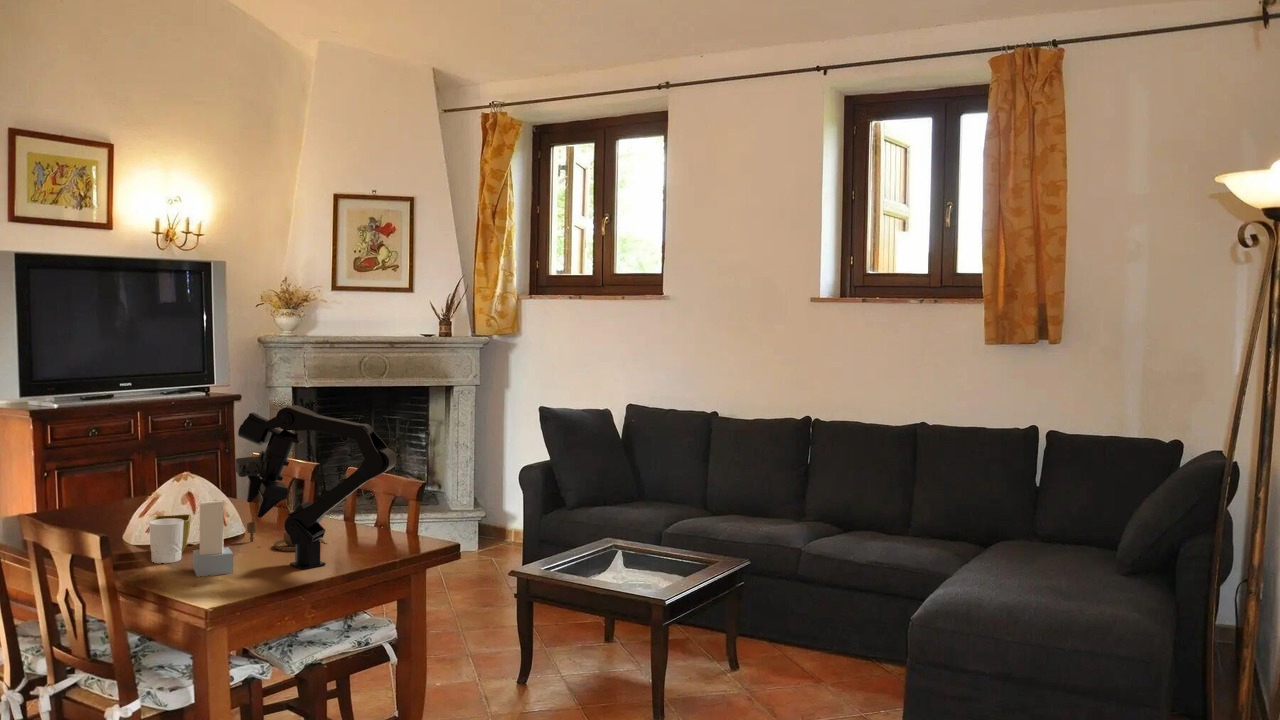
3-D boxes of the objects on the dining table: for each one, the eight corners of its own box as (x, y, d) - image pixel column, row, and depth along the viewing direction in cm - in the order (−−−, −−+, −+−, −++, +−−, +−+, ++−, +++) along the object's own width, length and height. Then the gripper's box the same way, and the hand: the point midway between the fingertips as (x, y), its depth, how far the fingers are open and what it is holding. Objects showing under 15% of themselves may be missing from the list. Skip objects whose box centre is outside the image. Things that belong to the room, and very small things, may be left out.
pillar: (223, 549, 244) (223, 500, 244) (222, 553, 239) (222, 504, 239) (201, 550, 243) (201, 501, 242) (199, 554, 238) (199, 505, 237)
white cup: (142, 563, 247) (142, 524, 246) (159, 556, 254) (159, 517, 254) (173, 564, 246) (173, 525, 246) (189, 557, 254) (189, 518, 254)
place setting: (275, 558, 258) (275, 535, 258) (242, 544, 272) (242, 523, 272) (337, 547, 270) (337, 526, 270) (302, 535, 284) (302, 515, 284)
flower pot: (151, 557, 254) (151, 522, 253) (154, 549, 262) (154, 515, 261) (189, 554, 257) (189, 520, 256) (190, 547, 265) (191, 513, 265)
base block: (228, 566, 247) (228, 547, 246) (233, 574, 240) (233, 553, 240) (193, 570, 243) (193, 550, 242) (197, 578, 236) (197, 557, 236)
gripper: (235, 432, 250) (213, 489, 251) (256, 460, 236) (232, 519, 236) (277, 442, 257) (255, 497, 258) (300, 469, 243) (276, 527, 244)
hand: (253, 509), depth 249 cm, fingers open, 9 cm apart
